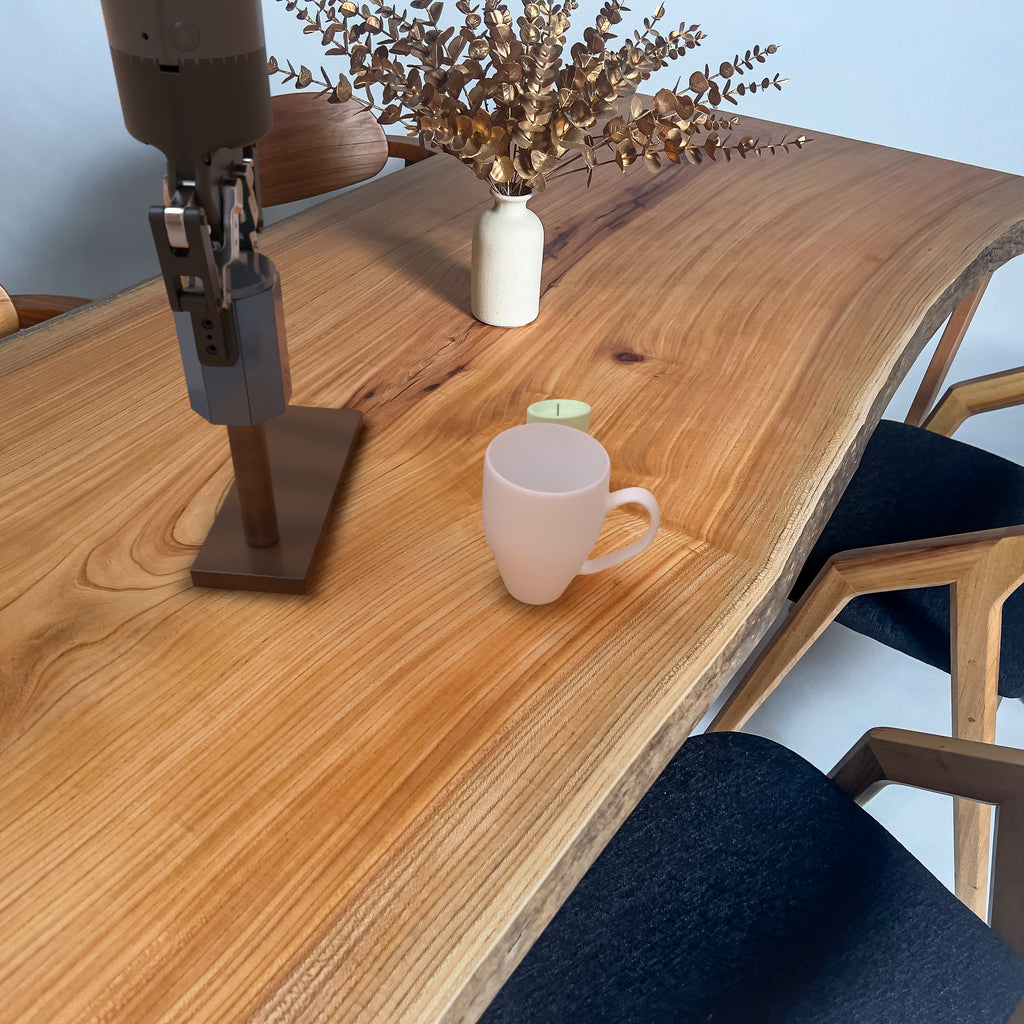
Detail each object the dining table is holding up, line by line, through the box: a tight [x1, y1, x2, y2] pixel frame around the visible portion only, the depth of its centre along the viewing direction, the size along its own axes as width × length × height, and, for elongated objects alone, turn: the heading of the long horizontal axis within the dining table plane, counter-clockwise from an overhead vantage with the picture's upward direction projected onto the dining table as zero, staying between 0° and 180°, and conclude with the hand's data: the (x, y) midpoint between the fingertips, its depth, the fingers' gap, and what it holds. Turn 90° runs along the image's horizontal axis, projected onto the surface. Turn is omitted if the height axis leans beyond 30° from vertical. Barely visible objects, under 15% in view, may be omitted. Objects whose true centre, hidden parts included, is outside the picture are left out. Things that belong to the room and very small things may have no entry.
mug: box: [481, 423, 661, 606], centre depth 62 cm, size 12×8×11 cm
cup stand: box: [189, 404, 364, 595], centre depth 68 cm, size 22×8×12 cm, turn 177°
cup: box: [172, 248, 293, 426], centre depth 56 cm, size 6×6×9 cm
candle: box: [525, 398, 592, 435], centre depth 73 cm, size 5×5×8 cm
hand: (232, 336), depth 56 cm, fingers closed on cup, 6 cm apart
